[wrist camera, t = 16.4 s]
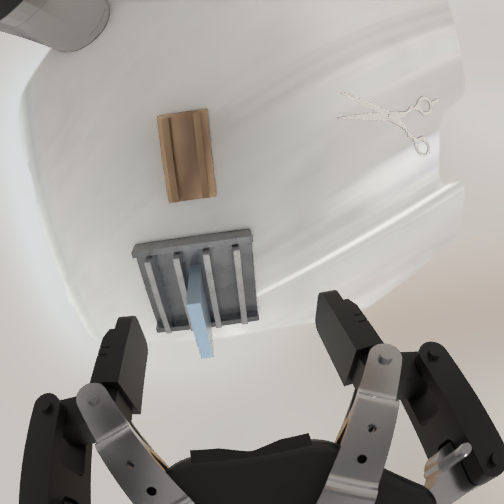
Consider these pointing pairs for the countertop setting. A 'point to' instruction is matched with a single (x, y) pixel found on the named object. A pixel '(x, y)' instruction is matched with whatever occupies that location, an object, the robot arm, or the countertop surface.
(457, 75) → the countertop surface
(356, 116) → the scissors
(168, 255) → the dish rack
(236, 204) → the countertop surface
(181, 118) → the plate stand
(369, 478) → the robot arm
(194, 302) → the plate
